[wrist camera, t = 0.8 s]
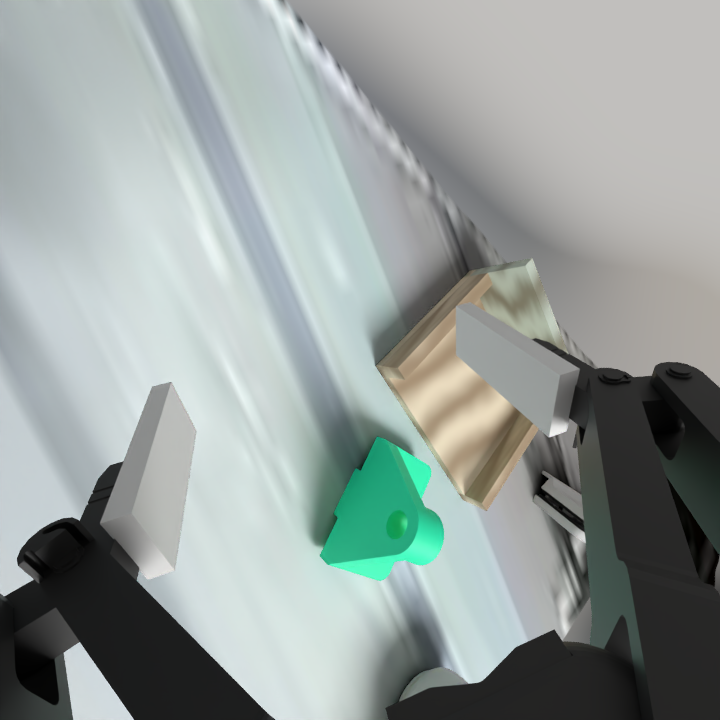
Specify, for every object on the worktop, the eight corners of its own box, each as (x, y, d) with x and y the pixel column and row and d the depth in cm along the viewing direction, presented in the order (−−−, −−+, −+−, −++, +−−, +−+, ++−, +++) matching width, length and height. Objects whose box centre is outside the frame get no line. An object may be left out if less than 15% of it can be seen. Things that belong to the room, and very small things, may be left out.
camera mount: (370, 568, 37) (444, 636, 29) (314, 550, 34) (380, 621, 25) (417, 462, 40) (496, 494, 32) (370, 433, 37) (446, 461, 28)
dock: (375, 365, 36) (432, 371, 30) (469, 270, 44) (532, 257, 37) (463, 499, 45) (522, 527, 38) (529, 401, 52) (589, 410, 45)
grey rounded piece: (586, 497, 63) (647, 541, 55) (570, 518, 64) (627, 565, 55) (541, 469, 55) (605, 515, 46) (523, 493, 55) (583, 544, 46)
